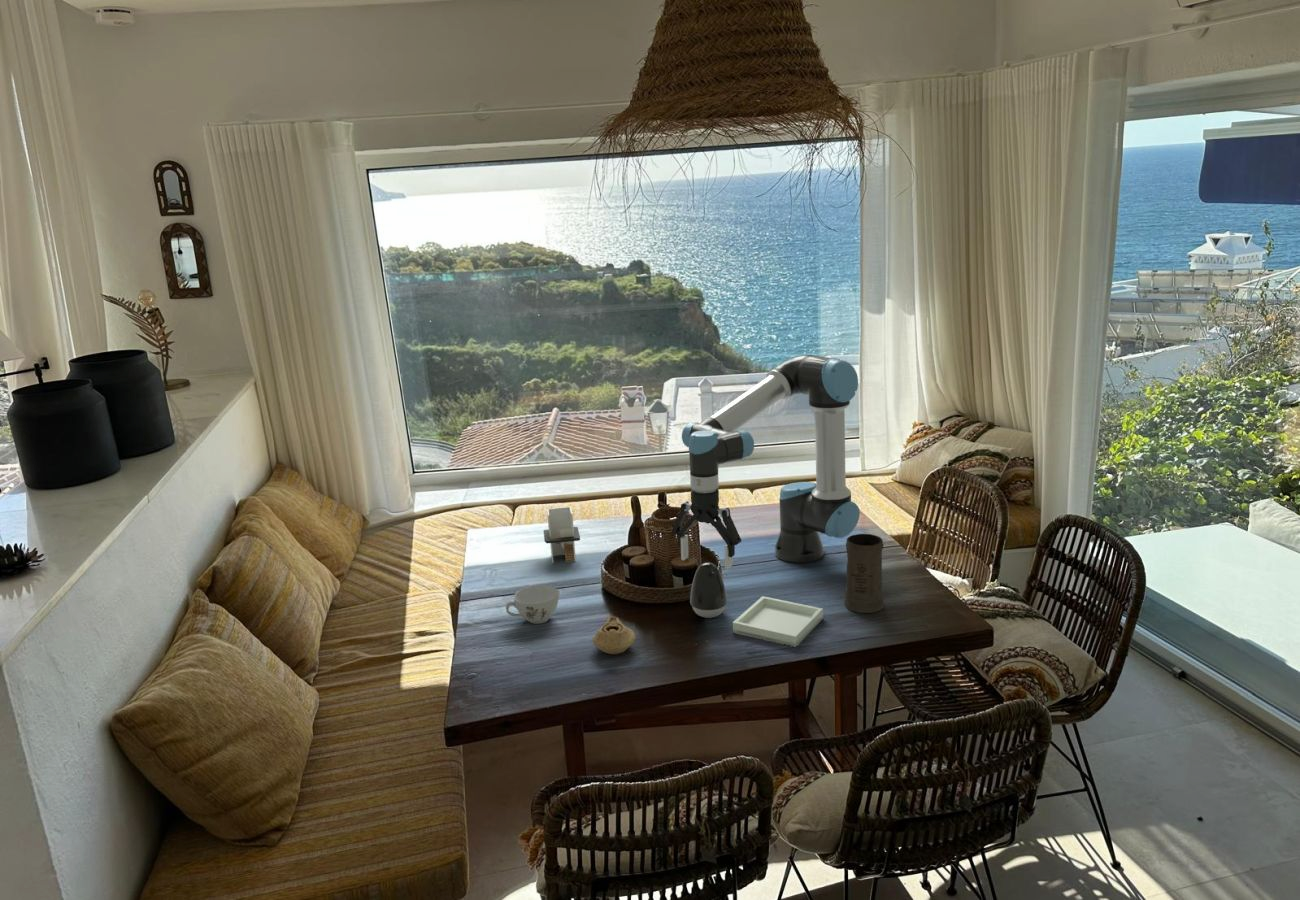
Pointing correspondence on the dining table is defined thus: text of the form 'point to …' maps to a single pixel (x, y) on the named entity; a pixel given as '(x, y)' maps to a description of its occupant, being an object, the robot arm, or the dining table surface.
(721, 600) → the dark grey rounded piece
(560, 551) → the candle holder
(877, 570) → the beer stein
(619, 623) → the oil lamp
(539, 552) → the dining table surface
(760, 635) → the tray
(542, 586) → the teacup
